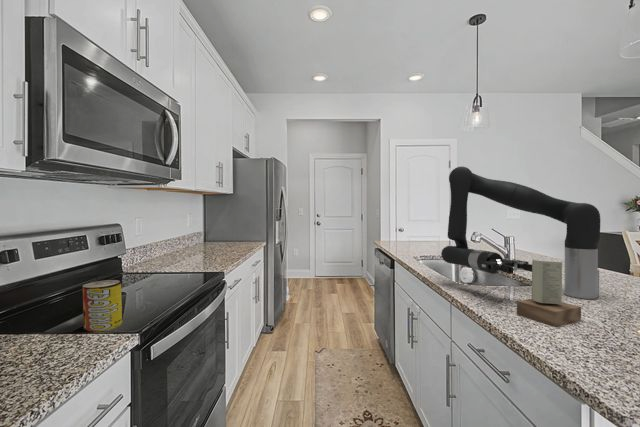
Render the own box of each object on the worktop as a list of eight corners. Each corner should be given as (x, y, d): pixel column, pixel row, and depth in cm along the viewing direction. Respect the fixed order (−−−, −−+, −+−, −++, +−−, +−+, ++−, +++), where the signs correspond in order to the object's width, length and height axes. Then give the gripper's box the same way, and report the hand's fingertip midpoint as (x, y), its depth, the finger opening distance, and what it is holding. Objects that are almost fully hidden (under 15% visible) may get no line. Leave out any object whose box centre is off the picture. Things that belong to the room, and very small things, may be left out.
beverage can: (79, 326, 90) (78, 284, 90) (116, 318, 97) (115, 278, 97) (88, 334, 84) (87, 289, 84) (126, 325, 91) (125, 283, 91)
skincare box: (552, 301, 96) (553, 260, 96) (562, 305, 91) (563, 261, 92) (530, 299, 96) (531, 259, 97) (539, 303, 92) (540, 260, 92)
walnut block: (541, 311, 101) (541, 296, 101) (580, 322, 90) (581, 307, 90) (516, 315, 97) (516, 301, 97) (555, 328, 86) (555, 312, 86)
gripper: (468, 251, 115) (505, 258, 99) (501, 250, 118) (541, 256, 103) (468, 272, 115) (505, 283, 99) (501, 270, 118) (541, 279, 103)
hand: (523, 269), depth 101 cm, fingers open, 8 cm apart
